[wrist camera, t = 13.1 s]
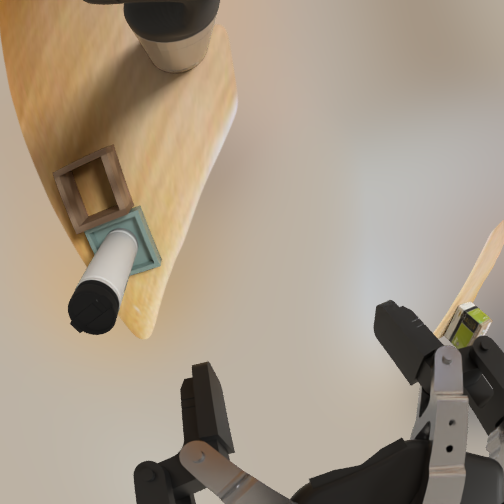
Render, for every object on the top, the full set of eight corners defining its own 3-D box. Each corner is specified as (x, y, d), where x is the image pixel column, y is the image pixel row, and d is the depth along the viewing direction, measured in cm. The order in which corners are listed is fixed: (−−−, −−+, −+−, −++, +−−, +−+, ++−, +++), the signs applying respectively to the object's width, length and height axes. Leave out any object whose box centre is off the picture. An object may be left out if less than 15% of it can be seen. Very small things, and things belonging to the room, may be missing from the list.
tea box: (456, 329, 88) (476, 350, 75) (443, 335, 86) (464, 358, 73) (470, 300, 82) (493, 321, 69) (458, 304, 80) (482, 327, 67)
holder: (65, 167, 37) (52, 173, 32) (113, 144, 37) (104, 147, 33) (86, 223, 42) (76, 234, 37) (133, 204, 43) (127, 214, 38)
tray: (88, 225, 42) (83, 230, 40) (140, 205, 43) (137, 210, 41) (111, 275, 47) (108, 282, 45) (161, 259, 48) (160, 265, 46)
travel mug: (97, 241, 43) (55, 312, 25) (123, 220, 42) (87, 285, 25) (119, 267, 46) (92, 345, 28) (145, 247, 46) (125, 323, 28)
